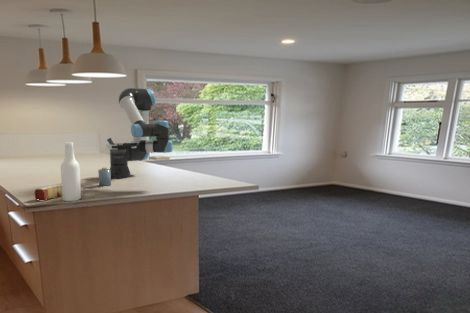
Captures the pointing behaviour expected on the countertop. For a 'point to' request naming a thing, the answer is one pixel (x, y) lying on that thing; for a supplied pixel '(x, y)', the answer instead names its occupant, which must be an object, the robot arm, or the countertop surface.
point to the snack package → (48, 192)
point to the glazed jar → (104, 177)
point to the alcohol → (70, 175)
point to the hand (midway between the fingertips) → (109, 146)
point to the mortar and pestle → (116, 150)
